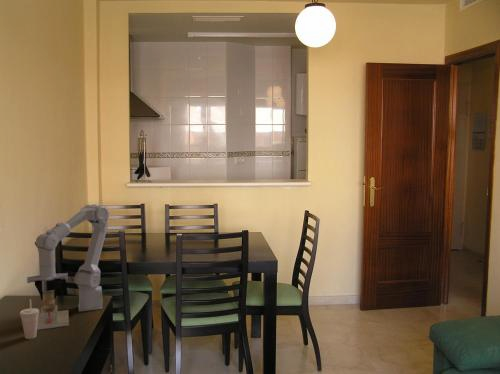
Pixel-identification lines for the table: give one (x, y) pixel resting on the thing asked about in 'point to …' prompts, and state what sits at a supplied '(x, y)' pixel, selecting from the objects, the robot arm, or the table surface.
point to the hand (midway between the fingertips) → (48, 298)
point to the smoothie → (30, 321)
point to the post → (48, 300)
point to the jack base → (52, 318)
